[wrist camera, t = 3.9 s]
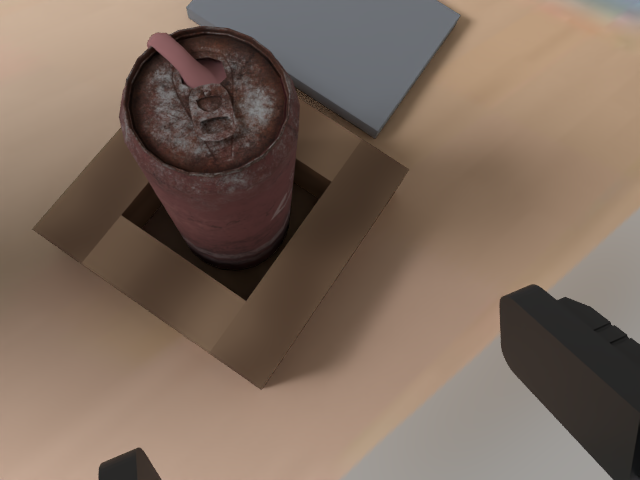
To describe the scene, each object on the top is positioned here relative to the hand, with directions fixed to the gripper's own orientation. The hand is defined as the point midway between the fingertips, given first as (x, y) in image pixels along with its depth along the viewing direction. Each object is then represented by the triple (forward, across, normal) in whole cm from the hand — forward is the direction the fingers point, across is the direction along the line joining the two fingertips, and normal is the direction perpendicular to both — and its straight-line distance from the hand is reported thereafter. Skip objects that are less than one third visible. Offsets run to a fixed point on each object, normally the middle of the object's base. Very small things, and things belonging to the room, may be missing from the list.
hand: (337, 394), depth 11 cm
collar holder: (+20, 0, +6) cm, 21 cm away
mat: (+27, -10, -1) cm, 29 cm away
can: (+20, 0, +6) cm, 21 cm away
